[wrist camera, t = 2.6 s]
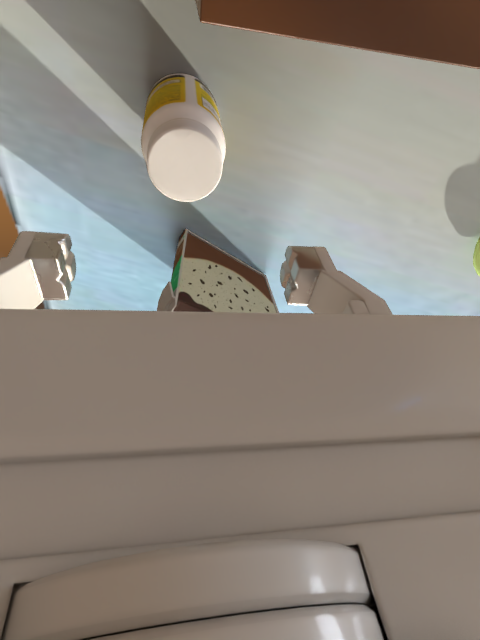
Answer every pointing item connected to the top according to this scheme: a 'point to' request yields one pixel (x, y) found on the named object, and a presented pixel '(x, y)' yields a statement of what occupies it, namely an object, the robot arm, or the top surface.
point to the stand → (363, 24)
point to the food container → (214, 281)
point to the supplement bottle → (183, 138)
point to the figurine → (477, 257)
